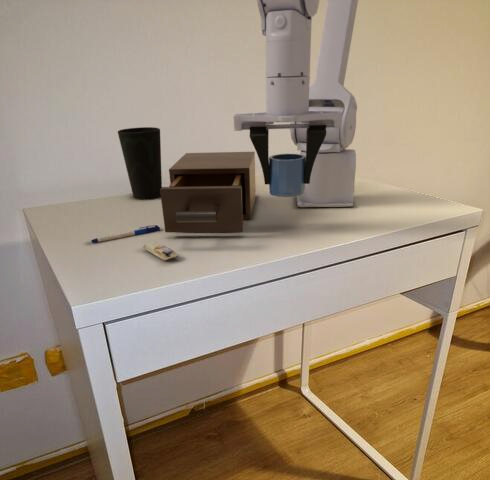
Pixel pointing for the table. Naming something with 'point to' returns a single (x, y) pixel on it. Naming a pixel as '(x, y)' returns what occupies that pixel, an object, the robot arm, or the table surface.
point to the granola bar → (160, 250)
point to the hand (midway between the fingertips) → (286, 182)
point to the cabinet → (221, 170)
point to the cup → (142, 160)
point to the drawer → (204, 203)
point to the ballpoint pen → (128, 233)
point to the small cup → (287, 175)
